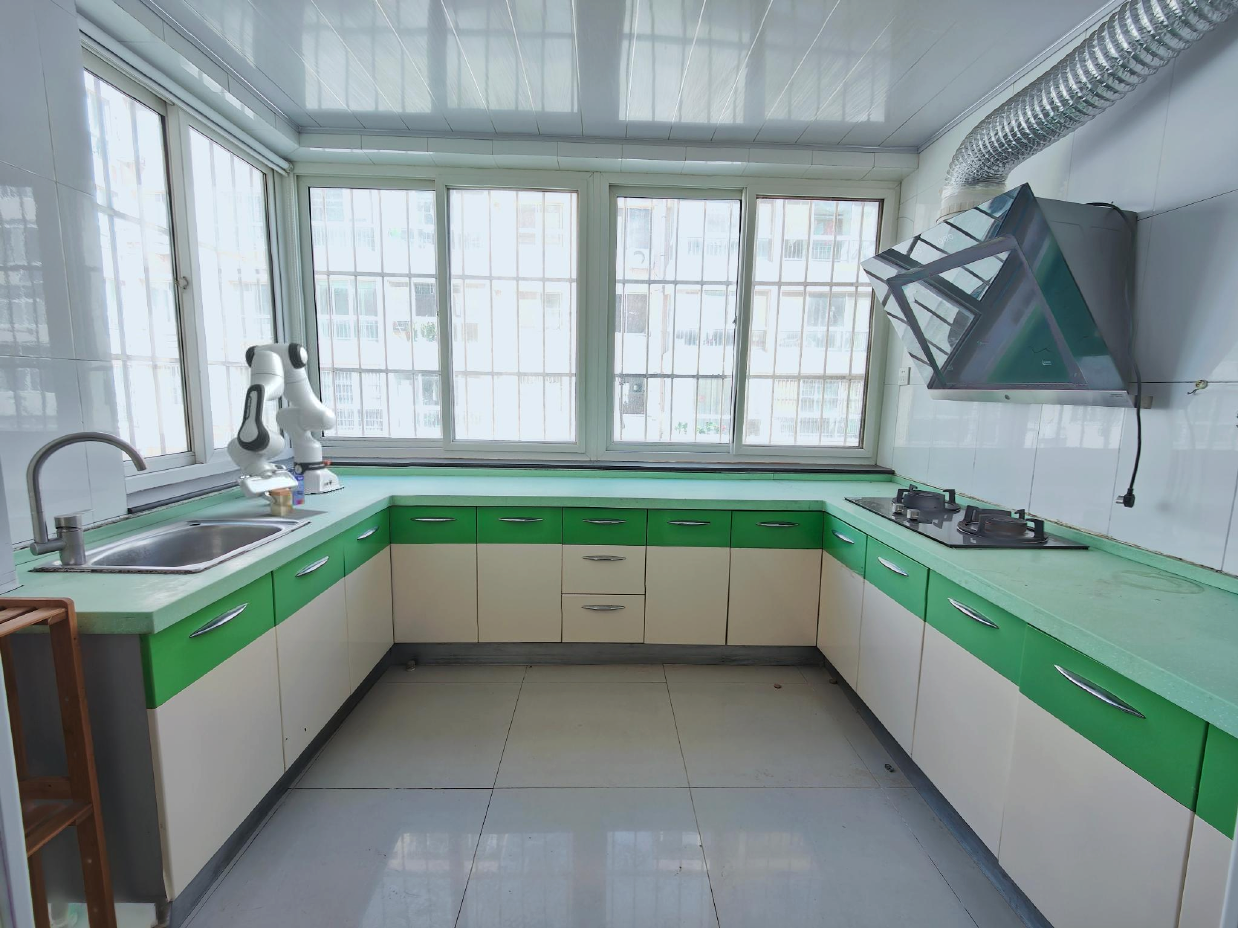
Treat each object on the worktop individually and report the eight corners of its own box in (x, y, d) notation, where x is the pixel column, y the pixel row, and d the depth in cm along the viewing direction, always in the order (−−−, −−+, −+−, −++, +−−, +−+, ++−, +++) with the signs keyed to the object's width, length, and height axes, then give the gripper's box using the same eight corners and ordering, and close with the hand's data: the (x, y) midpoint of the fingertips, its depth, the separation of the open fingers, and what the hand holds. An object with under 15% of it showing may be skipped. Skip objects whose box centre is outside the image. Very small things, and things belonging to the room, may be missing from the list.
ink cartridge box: (306, 504, 220) (304, 469, 218) (293, 506, 215) (291, 471, 213) (288, 502, 223) (286, 467, 221) (276, 504, 218) (273, 469, 216)
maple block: (282, 511, 203) (281, 488, 202) (292, 513, 202) (291, 489, 201) (270, 514, 198) (269, 490, 197) (281, 515, 197) (279, 491, 196)
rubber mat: (292, 509, 210) (291, 508, 210) (329, 513, 205) (329, 511, 205) (259, 516, 197) (259, 515, 197) (298, 521, 192) (298, 519, 192)
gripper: (237, 471, 190) (261, 500, 189) (287, 464, 209) (309, 491, 208) (229, 483, 192) (252, 512, 190) (279, 475, 211) (300, 501, 210)
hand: (282, 501), depth 199 cm, fingers closed on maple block, 5 cm apart
